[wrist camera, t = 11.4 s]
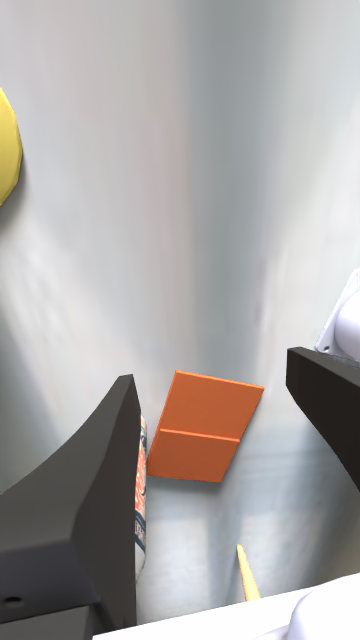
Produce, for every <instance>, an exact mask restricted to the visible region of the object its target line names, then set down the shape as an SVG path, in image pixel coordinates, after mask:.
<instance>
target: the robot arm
mask: <svg viewBox="0 0 360 640" xmlns="http://www.w3.org/2000/svg"><path fill="white" fill-rule="evenodd" d="M326 346H327V347H326ZM325 347H326V348H325ZM324 348H325V349H324ZM315 349H316V350H317V351H318V352H321V353H325V354H330V355H334V356H338V357H343V358H347V359H351V360H356V361H358V362H359V363H360V268H358V269H356V270H354V271H353V273H352V275H351V277H350V279H349V281H348V282H347V284H346V286H345V288H344V290H343V292H342V294H341V296H340V298H339V300H338V302H337V304H336V306H335V308H334V310H333V312H332V314H331V315H330V317H329V319H328V321H327V323H326V325H325V327H324V329H323V331H322V333H321V335H320V337H319V339H318V341H317V343H316V345H315ZM286 386H287V388H288V390H289V392H290V394H291V395H292V397H293V399H294V400H295V402H296V404H297V405H298V406H299V407H300V409H301V410H302V411H303V413H304V414H305V415H306V417H307V418H308V419H309V420H310V422H311V423H312V424H313V425H314V427H315V428H316V429H317V430H318V432H319V433H320V434H321V435H322V437H323V438H324V439H325V440H326V442H327V443H328V444H329V446H330V447H331V448H332V450H333V451H334V452H335V454H336V455H337V457H338V458H339V460H340V461H341V463H342V464H343V466H344V467H345V469H346V471H347V472H348V474H349V475H350V477H351V478H352V480H353V482H354V483H355V485H356V486H357V488H358V490H359V491H360V369H359V368H356V367H353V366H351V365H348V364H345V363H343V362H340V361H338V360H335V359H332V358H330V357H327V356H325V355H322V354H320V353H317V352H315V351H312V350H309V349H306V348H303V347H295V348H289V349H287V369H286ZM140 439H141V409H140V404H139V400H138V395H137V391H136V386H135V382H134V377H133V374H130V375H124V376H119V377H118V378H117V380H116V381H115V383H114V384H113V386H112V387H111V389H110V390H109V391H108V393H107V394H106V396H105V397H104V398H103V400H102V401H101V403H100V404H99V405H98V407H97V408H96V409H95V411H94V412H93V413H92V414H91V415H90V417H89V418H88V419H87V420H86V421H85V423H84V424H83V425H82V426H81V427H80V428H79V429H78V430H77V432H76V433H75V434H74V435H73V436H72V437H71V438H70V439H69V440H68V441H67V442H66V443H65V444H63V445H62V446H61V447H60V448H59V449H58V450H57V451H56V452H55V453H53V454H52V455H51V456H50V457H49V458H48V459H47V460H46V461H44V462H43V463H42V464H41V465H40V466H38V467H37V468H36V469H35V470H33V471H32V472H31V473H30V474H28V475H27V476H26V477H24V478H23V479H22V480H20V481H19V482H18V483H17V484H15V485H14V486H12V487H11V488H10V489H8V490H7V491H5V492H4V493H2V494H1V495H0V640H360V573H358V574H354V575H349V576H345V577H341V578H338V579H336V580H333V581H330V582H327V583H324V584H322V585H319V586H315V587H311V588H306V589H302V590H297V591H293V592H288V593H284V594H279V595H275V596H270V597H266V598H261V599H257V600H252V601H248V602H243V603H239V604H234V605H230V606H225V607H221V608H216V609H212V610H207V611H203V612H198V613H194V614H189V615H185V616H180V617H176V618H171V619H167V620H162V621H158V622H153V623H149V624H144V625H140V626H137V624H136V574H135V492H136V478H137V468H138V459H139V449H140Z"/></svg>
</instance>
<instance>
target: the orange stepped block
mask: <svg viewBox="0 0 360 640" xmlns="http://www.w3.org/2000/svg"><path fill="white" fill-rule="evenodd" d="M263 391H264V387H263V386H259V385H253V384H248V383H243V382H237V381H232V380H227V379H222V378H216V377H211V376H206V375H200V374H195V373H190V372H185V371H179V370H176V372H175V375H174V378H173V381H172V384H171V387H170V390H169V394H168V397H167V400H166V403H165V406H164V409H163V412H162V415H161V418H160V421H159V424H158V427H157V431H156V434H155V437H154V440H153V443H152V446H151V449H150V452H149V455H148V458H147V461H146V475H148V476H158V477H168V478H179V479H189V480H199V481H209V482H219V483H220V482H221V480H222V478H223V476H224V474H225V472H226V470H227V468H228V466H229V463H230V461H231V459H232V457H233V455H234V453H235V451H236V449H237V447H238V444H239V442H240V440H241V438H242V435H243V433H244V431H245V429H246V427H247V425H248V423H249V421H250V418H251V416H252V414H253V412H254V410H255V408H256V406H257V404H258V401H259V399H260V397H261V395H262V393H263Z"/></svg>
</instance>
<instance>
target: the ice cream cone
mask: <svg viewBox="0 0 360 640" xmlns="http://www.w3.org/2000/svg"><path fill="white" fill-rule="evenodd" d="M237 552H238V558H239V563H240V569H241V576H242V581H243V587H244V594H245V599H246V602H248V601H252V600H257V599H261V597H260V594H259V591H258V588H257V586H256V583H255V581H254V578H253V575H252V572H251V570H250V567H249V565H248V562H247V559H246V556H245V554H244V551H243V548H242V546H241V545H240V544H238V545H237Z"/></svg>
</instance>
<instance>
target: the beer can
mask: <svg viewBox="0 0 360 640" xmlns="http://www.w3.org/2000/svg"><path fill="white" fill-rule="evenodd" d="M146 440H147V425H146V421H145V419H144V417H143V416H142V415H141V439H140V449H139V459H138V468H137V478H136V492H135V574H136V583H137V580H138V577H139V573H140V572H141V570H142V568H143V566H144V563H145V534H146Z"/></svg>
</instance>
